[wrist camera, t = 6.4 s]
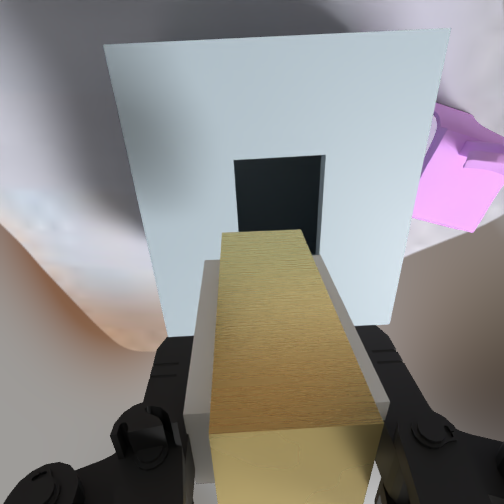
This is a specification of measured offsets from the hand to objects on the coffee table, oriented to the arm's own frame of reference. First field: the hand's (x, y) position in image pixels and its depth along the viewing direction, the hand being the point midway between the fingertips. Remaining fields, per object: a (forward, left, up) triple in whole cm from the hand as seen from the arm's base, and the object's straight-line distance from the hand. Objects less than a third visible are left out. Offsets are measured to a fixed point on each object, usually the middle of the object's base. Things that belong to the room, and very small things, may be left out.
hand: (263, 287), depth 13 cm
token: (0, 0, 0) cm, 0 cm away
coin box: (0, +2, -19) cm, 19 cm away
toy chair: (0, +16, -19) cm, 25 cm away
